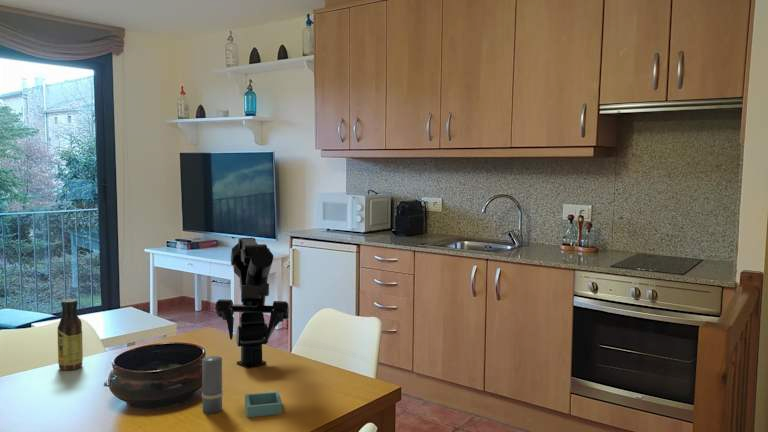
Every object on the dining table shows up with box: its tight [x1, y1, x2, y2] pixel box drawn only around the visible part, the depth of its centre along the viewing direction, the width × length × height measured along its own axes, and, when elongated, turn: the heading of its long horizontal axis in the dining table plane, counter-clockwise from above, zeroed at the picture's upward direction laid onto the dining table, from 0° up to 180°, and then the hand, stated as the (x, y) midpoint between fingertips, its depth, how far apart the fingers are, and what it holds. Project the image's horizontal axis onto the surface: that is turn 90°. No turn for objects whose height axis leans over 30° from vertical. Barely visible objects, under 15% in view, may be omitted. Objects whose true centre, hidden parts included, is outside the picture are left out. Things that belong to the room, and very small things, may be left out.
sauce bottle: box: [57, 298, 84, 371], centre depth 166 cm, size 6×6×20 cm
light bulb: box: [201, 355, 224, 415], centre depth 138 cm, size 5×5×12 cm
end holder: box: [244, 390, 283, 418], centre depth 140 cm, size 8×8×2 cm
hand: (249, 339), depth 149 cm, fingers open, 9 cm apart
